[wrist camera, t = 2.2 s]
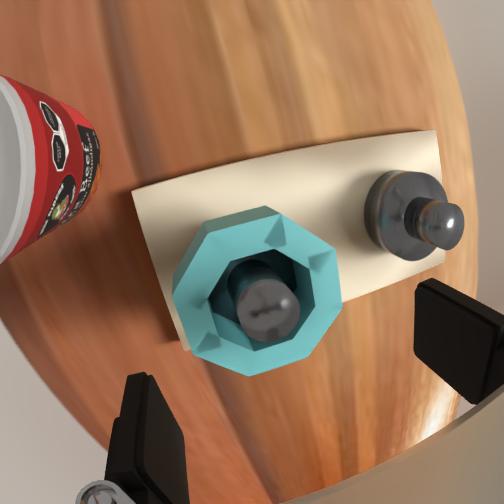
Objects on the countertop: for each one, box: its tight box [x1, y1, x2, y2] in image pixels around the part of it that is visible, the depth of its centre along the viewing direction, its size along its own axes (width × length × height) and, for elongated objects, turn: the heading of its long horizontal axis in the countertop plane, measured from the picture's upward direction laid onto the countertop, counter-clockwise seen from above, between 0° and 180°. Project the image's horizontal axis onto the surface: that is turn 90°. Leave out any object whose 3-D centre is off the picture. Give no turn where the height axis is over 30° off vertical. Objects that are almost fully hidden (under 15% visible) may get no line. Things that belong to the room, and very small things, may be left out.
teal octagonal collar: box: [172, 205, 343, 376], centre depth 15 cm, size 7×7×2 cm
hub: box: [364, 170, 464, 261], centre depth 19 cm, size 6×6×6 cm
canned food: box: [0, 75, 102, 264], centre depth 12 cm, size 8×8×11 cm
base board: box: [131, 130, 445, 351], centre depth 21 cm, size 11×22×2 cm, turn 104°
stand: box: [208, 249, 300, 342], centre depth 16 cm, size 5×5×8 cm
